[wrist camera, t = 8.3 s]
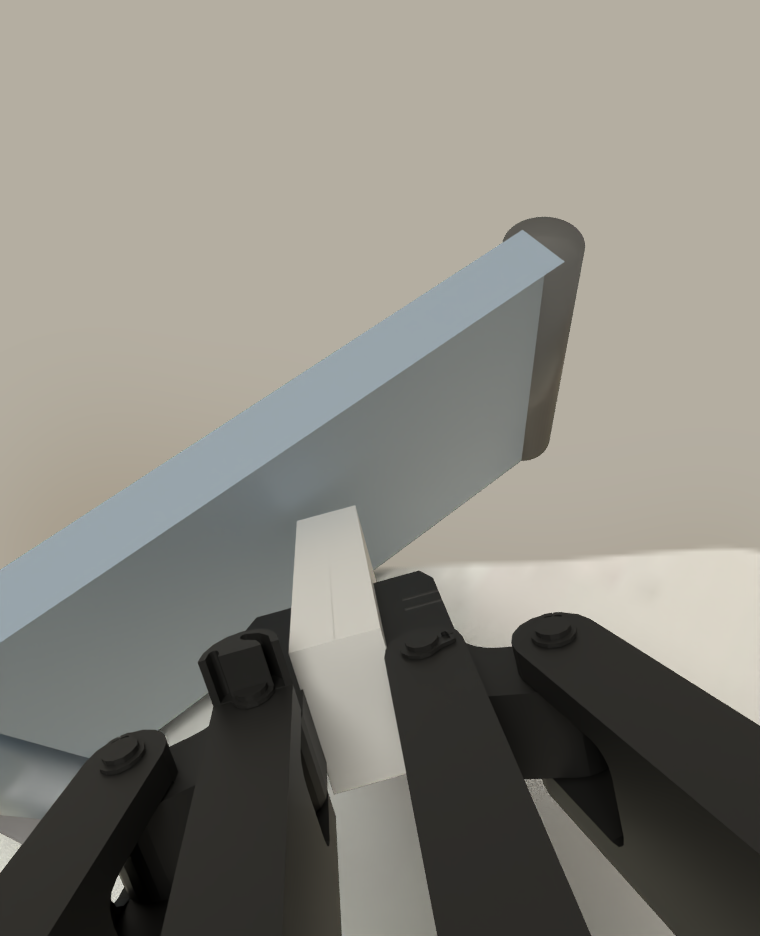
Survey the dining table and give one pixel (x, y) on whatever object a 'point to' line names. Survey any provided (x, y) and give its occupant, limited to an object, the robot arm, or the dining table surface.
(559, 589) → the dining table surface
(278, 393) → the blue-grey flat panel
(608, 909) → the dining table surface
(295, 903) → the robot arm
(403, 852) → the dining table surface
